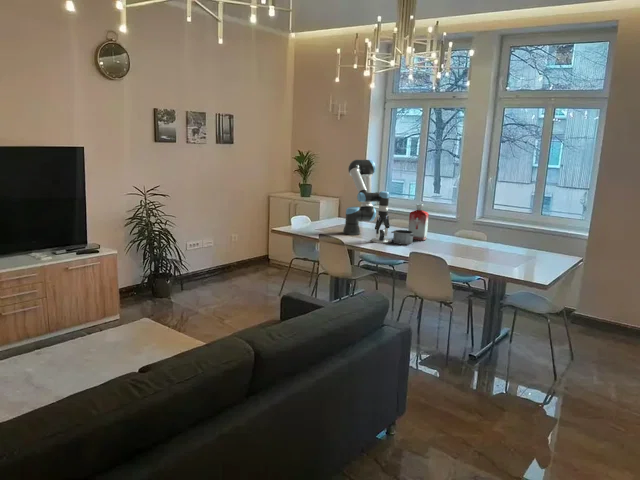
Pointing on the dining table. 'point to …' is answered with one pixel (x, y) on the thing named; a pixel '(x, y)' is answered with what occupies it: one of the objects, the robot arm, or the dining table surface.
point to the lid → (381, 238)
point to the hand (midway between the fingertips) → (381, 236)
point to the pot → (403, 237)
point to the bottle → (418, 223)
